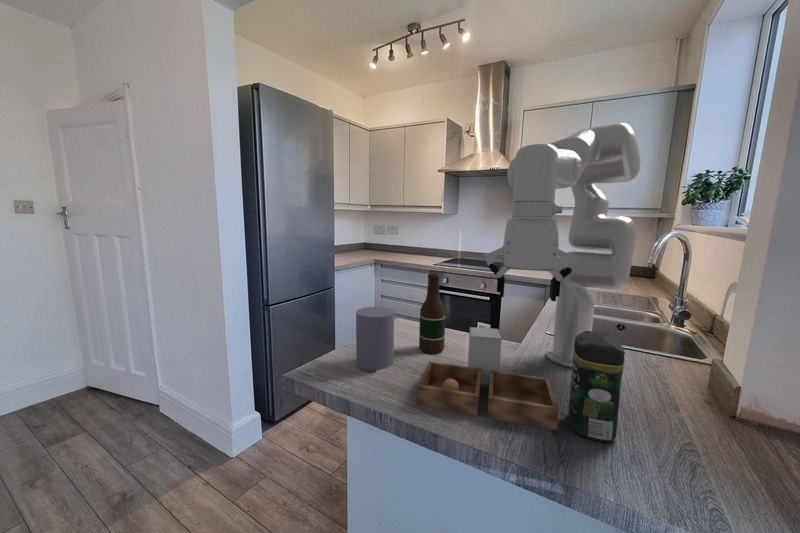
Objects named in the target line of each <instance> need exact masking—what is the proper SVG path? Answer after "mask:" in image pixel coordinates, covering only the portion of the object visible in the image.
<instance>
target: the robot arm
mask: <svg viewBox="0 0 800 533" xmlns="http://www.w3.org/2000/svg"><path fill="white" fill-rule="evenodd" d="M640 168H641V156H640V151H639V146H638V142H637V137H636V134H635V132H634V130H633V128H632V127H631V125H630V124H628V123H625V122H624V123H623V122H621V123H620V122H619V123H613V124H607V125H601V126H595V127H589V128H584V129H581V130H578V131H576V132H575V133H572V134H571V135H569V136H567V137H566V138H563V139H560V140H556V141H553V142H550V143H535V144H534V143H533V144H529V145H528V144H527V145H525V146H522V147H520V148H519V149H518V150H517V151H516V153H515V157H514V158H513V159H512V160H511V161H510V163H509V165H508V168H507V181H508V184H509V185H510V187H511V188H512V189H513V197H512V206H511V207H512V208H511V209H512V210H511V211H512V212H511V218H509V219H507V220H506V226H505V229H504V230H505V231H504V237H503V245H502V247H499V248H496V249H494V250H493V251H490V252H489V253H486V254H484V259H485V262H486V264H487V266H488V269H489V270H490V271H491V272H492V273H493V274H494V275H495V276H496V293H499V298H504V297H505V282H506V281H505V280H506V278H505V274H506V273H507V272H508V271H509V270H519V271H521V270H522V271H539V272H541V271H543V272H549V273H550V274H551V276H552V278H551V279H550V285H549V286H550V287H549V297H548V298H549V299H550V301H551V302H556V303H555V304H556V306H555V316H554V317H555V318H554V329H553V339H552V340H553V343H552V348H549V349H547V350H546V357H547V359H548V360H550V361H552V362H553V363H556V364H557V365H561V366H564V367H567V368H572V364H573V354H574V345H575V338H576V336H577V335H578V334H580V333H582V332H584V331H593V325H594V322H593V321H594V315H595V314H594V313H595V301H594V298H593V296H592V295H591V292H589V290H588V289H587V288H592V289H601V290H609V291H621V290H623V289H625V288H626V286H627V284H628V282H629V279H630V274H631V268H632V264H633V263H632V261H633V256H634V249H635V245H636V238H637V237H636V236H637V227H636V223H635V222H634V220H633V219H632V218H630V217H627V216H621V215H620V216H619V215H618V216H613V215H612V216H609V215H608V210H609V205H610V203H609V199H608V197H606V196H605V194H604V193H603V192H602V190H600V189H599V188H598V187H597V186H595V185H599V184H614V183H615V184H616V183H627V182H631V181H632V180H634V179H635V178H636V177H637V176H638V174H639V173H640ZM567 188H571V191H572V195H573V198H574V208H573V212H572V218H571V222H570V226H569V231H568V243H569V245H570V246H571V247H572V248H575V249H579V250H586V251H568V252H566V251H563V250H561V249H559V248H560V247H559V246H560V245H559V242H560V241H559V240H560V239H559V226H558V219H554V217H555V215H558V214H562V213H563V205H562V206H559V205H557V203H556V202H555V199H556V190H559V189H567ZM607 215H608V216H607ZM589 251H600V252H601V251H602V252H604V251H605V252H610V253H611V254H610V253H600V252H598V253H596V252H589ZM501 255H502V256H501ZM498 256H501V257H502V258H501V260H502V264H503V265H502V266H500V268H499V267H498V266H497V265H496V264H495V263H494V261H493V259H494V258H497V257H498Z"/></svg>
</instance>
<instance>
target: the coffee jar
mask: <svg viewBox="0 0 800 533" xmlns="http://www.w3.org/2000/svg"><path fill="white" fill-rule="evenodd" d="M625 353H626V352H625V349H624V348H623V346H622V344H621V343H620V342H619V341H618V340H617V339H616V338H614V337H612V336H611V335H610V334H609V333H607V332H601V331H594V330H592V331H584V332H582V333H580V334H578V335H577V336H576V338H575V345H574V354H573V364H572V367H571V378H570V390H569V391H570V392H569V403H568V404H569V405H568V421H569V423H570V424H569V425H570V427H571V429H572V430H573V432H575V433H577V434H578V435H581V436H583V437H585V438H586V439H589V440H592V441H596V442H613V441H615V439H616V437H617V430H618V422H619V421H618V420H619V408H620V399H621V388H622V381H623V380H622V379H623V372H624V366H625V365H624V364H625Z"/></svg>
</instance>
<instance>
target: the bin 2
mask: <svg viewBox="0 0 800 533" xmlns="http://www.w3.org/2000/svg"><path fill="white" fill-rule="evenodd" d="M487 402H488V403H487V404H488V405H487V419H492V420H498V421H502V422H503V421H504V422H509V423H514V424H520V425H525V426H530V427H537V428H541V429H546V430H551V431H552V434H555V435H557V432H558V431H557V430H558V420H559V406H558V403H557V400H556V398H555V394H554V391H553V388H552V385H551V382H550V379H549V378H548V377H541V376H536V375H535V376H534V375H525V374H521V373H520V374H519V373H513V372H505V371H500V372H499V371H492V370H490V379H489V385H488V401H487Z"/></svg>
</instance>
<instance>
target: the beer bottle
mask: <svg viewBox="0 0 800 533" xmlns="http://www.w3.org/2000/svg"><path fill="white" fill-rule="evenodd" d="M440 278H441V276H440V273H437V272H431V273H428V274H427V291H426V297H425V300H424V301H423V303H422V304H421V308H420V311H419V312H420V313H419V335H418V336H419V337H418V340H419V342H418V344H419V347H418V348H419V350H420V351H421V352H422V351H423V352H424V353H423V352H422V353H423V354H427V353H429V354H428V355H432V354H433V355H439V354H438V353H440V354H442V352H443V351H444V349H445V338H446V337H445V336H446V335H445V334H446V332H445V331H446V330H445V329H446V309H445V306H444V304H443V302H442V300H441V296H440Z"/></svg>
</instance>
